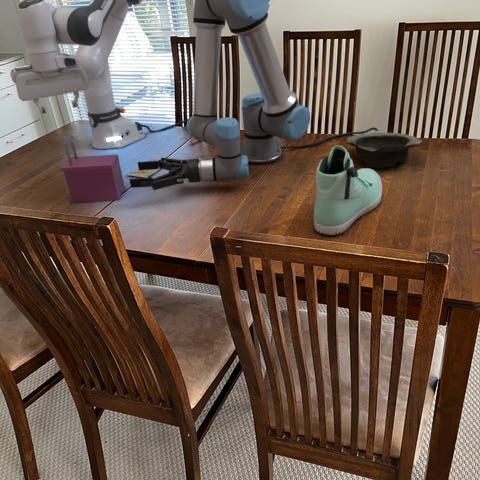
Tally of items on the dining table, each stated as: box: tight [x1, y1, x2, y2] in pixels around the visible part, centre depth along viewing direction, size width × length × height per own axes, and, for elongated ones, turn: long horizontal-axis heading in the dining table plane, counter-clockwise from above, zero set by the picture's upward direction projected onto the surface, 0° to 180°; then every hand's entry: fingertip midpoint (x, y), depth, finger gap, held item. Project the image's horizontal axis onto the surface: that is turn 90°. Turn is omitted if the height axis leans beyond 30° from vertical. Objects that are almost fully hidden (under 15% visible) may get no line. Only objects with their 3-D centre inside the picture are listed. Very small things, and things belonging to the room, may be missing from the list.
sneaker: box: [313, 145, 383, 236], centre depth 133 cm, size 14×35×20 cm, turn 152°
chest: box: [63, 157, 126, 203], centre depth 156 cm, size 15×9×11 cm, turn 89°
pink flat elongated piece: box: [190, 138, 200, 145], centre depth 200 cm, size 6×15×2 cm, turn 145°
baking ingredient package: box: [126, 159, 160, 178], centre depth 174 cm, size 9×1×15 cm
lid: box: [59, 135, 119, 173], centre depth 151 cm, size 16×9×9 cm, turn 89°
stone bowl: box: [346, 132, 423, 169], centre depth 166 cm, size 25×25×9 cm
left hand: (59, 110), depth 144 cm, fingers open, 8 cm apart
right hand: (134, 174), depth 154 cm, fingers open, 13 cm apart
